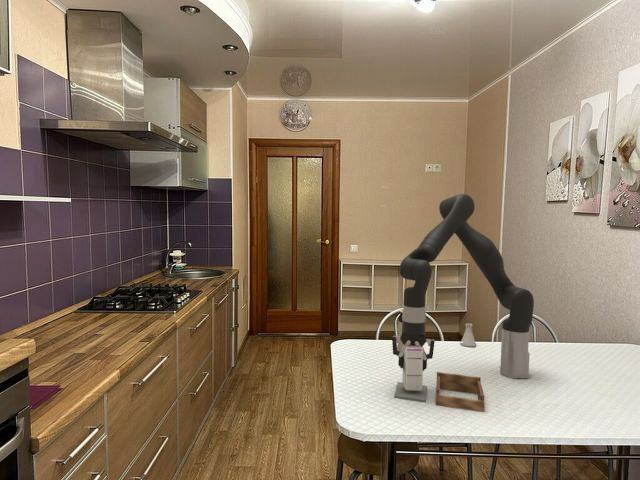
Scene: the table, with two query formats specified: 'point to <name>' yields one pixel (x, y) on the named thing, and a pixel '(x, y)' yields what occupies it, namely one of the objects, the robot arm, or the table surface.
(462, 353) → the table surface
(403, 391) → the mat
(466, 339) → the flask
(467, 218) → the robot arm
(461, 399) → the frame
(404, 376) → the syrup box
